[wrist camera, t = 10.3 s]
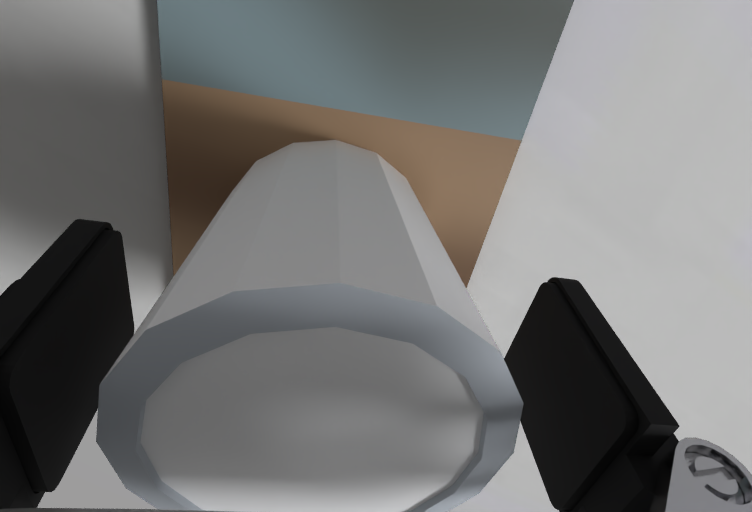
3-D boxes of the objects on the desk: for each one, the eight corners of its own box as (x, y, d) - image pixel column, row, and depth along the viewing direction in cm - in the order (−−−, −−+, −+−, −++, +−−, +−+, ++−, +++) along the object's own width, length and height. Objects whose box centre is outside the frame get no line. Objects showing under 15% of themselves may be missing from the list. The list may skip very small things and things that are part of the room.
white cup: (470, 132, 12) (596, 308, 6) (417, 328, 16) (465, 553, 10) (194, 97, 11) (36, 265, 5) (208, 315, 15) (125, 555, 9)
